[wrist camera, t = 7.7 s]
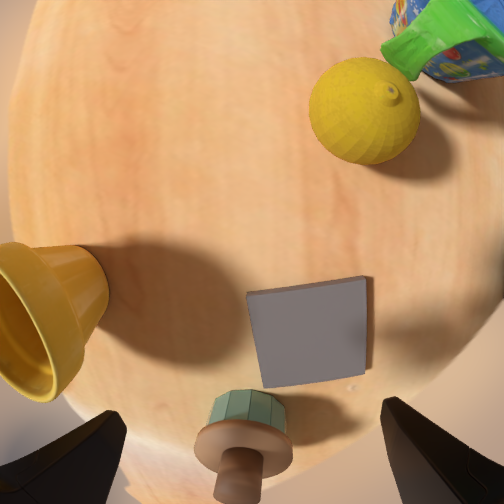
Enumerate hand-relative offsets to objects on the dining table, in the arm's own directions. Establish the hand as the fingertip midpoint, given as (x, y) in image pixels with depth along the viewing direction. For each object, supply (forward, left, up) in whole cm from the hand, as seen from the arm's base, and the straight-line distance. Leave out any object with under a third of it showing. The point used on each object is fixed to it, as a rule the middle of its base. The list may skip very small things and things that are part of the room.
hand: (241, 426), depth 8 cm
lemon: (-7, -10, -12) cm, 17 cm away
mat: (-3, +4, -12) cm, 13 cm away
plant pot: (+15, -2, -12) cm, 19 cm away
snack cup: (-16, -17, -12) cm, 26 cm away
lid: (+3, +12, -8) cm, 15 cm away
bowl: (+3, +12, -12) cm, 17 cm away
